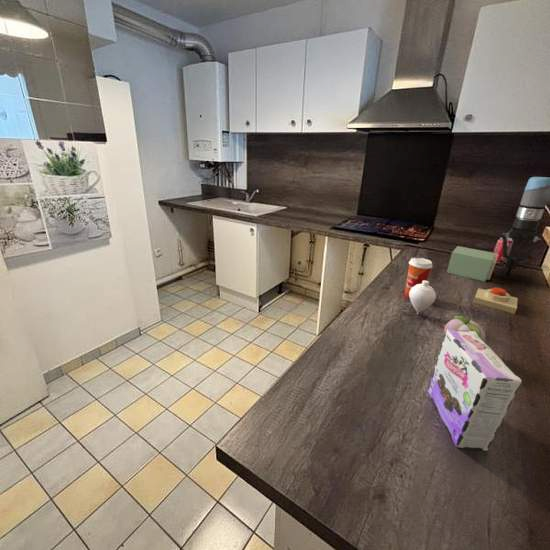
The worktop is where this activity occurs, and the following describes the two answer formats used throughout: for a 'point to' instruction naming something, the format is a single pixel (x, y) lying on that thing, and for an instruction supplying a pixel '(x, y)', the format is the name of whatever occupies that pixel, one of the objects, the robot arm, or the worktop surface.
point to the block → (496, 300)
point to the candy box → (471, 389)
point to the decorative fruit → (465, 326)
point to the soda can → (499, 250)
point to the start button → (498, 291)
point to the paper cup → (417, 273)
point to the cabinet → (470, 263)
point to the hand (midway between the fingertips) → (507, 274)
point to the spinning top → (422, 296)
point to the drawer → (495, 267)
